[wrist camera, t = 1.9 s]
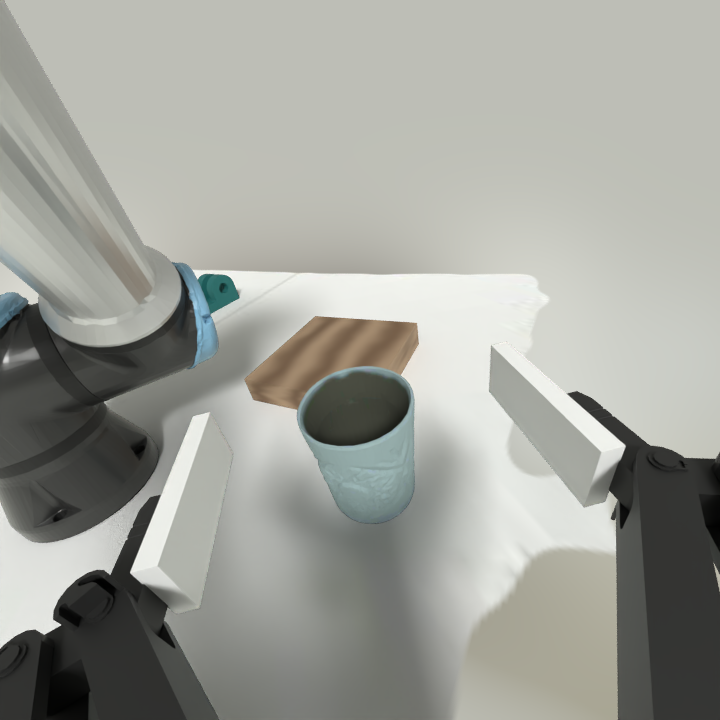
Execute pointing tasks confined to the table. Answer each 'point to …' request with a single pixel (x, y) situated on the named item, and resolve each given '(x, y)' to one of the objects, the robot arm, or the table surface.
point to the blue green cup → (363, 440)
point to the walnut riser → (330, 355)
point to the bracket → (218, 290)
